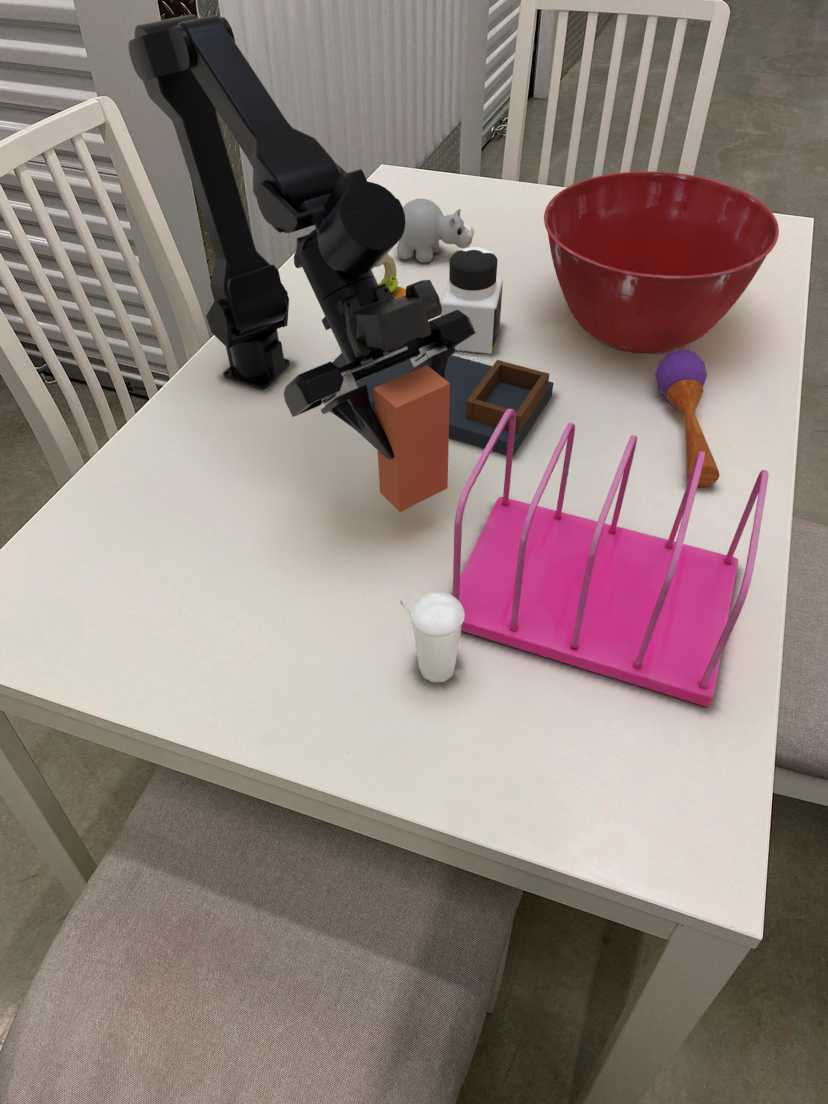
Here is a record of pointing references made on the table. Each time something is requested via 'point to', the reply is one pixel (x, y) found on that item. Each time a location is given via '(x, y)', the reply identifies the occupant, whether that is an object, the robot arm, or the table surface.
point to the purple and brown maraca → (688, 405)
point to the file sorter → (602, 583)
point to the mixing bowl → (655, 255)
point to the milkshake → (436, 633)
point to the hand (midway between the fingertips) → (418, 445)
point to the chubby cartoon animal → (430, 230)
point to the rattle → (391, 277)
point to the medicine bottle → (475, 296)
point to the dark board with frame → (481, 397)
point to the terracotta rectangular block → (414, 436)
